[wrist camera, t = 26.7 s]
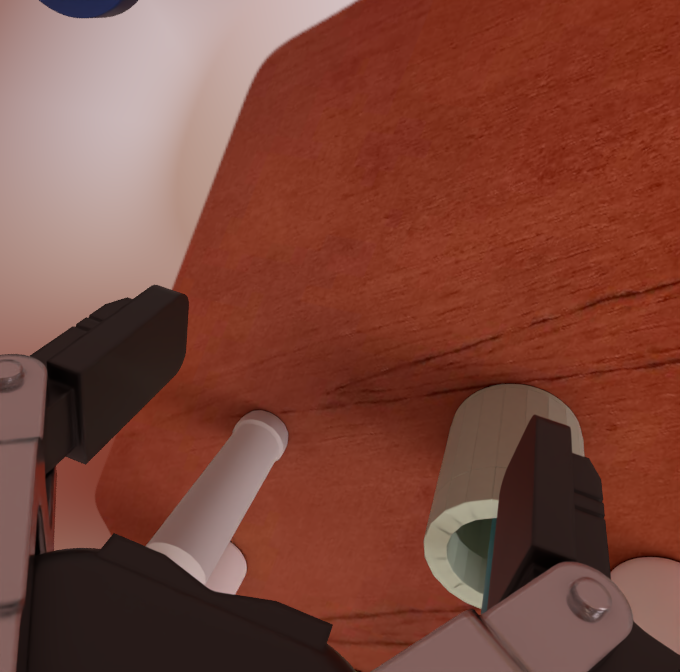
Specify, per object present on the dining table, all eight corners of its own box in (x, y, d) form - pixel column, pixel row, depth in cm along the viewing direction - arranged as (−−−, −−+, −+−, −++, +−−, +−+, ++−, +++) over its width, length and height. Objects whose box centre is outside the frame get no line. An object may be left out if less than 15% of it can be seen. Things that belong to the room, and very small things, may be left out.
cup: (730, 608, 50) (766, 731, 42) (598, 639, 56) (606, 751, 48) (677, 542, 49) (703, 656, 40) (547, 581, 55) (546, 687, 46)
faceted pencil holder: (437, 459, 52) (407, 580, 41) (473, 366, 46) (449, 477, 36) (553, 501, 50) (553, 638, 40) (604, 409, 45) (620, 539, 34)
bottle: (296, 421, 55) (140, 679, 34) (284, 460, 58) (133, 719, 37) (245, 399, 55) (62, 640, 35) (236, 438, 58) (60, 682, 37)
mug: (253, 585, 69) (210, 670, 60) (194, 574, 71) (144, 654, 63) (232, 506, 63) (181, 587, 55) (169, 497, 66) (110, 573, 57)
